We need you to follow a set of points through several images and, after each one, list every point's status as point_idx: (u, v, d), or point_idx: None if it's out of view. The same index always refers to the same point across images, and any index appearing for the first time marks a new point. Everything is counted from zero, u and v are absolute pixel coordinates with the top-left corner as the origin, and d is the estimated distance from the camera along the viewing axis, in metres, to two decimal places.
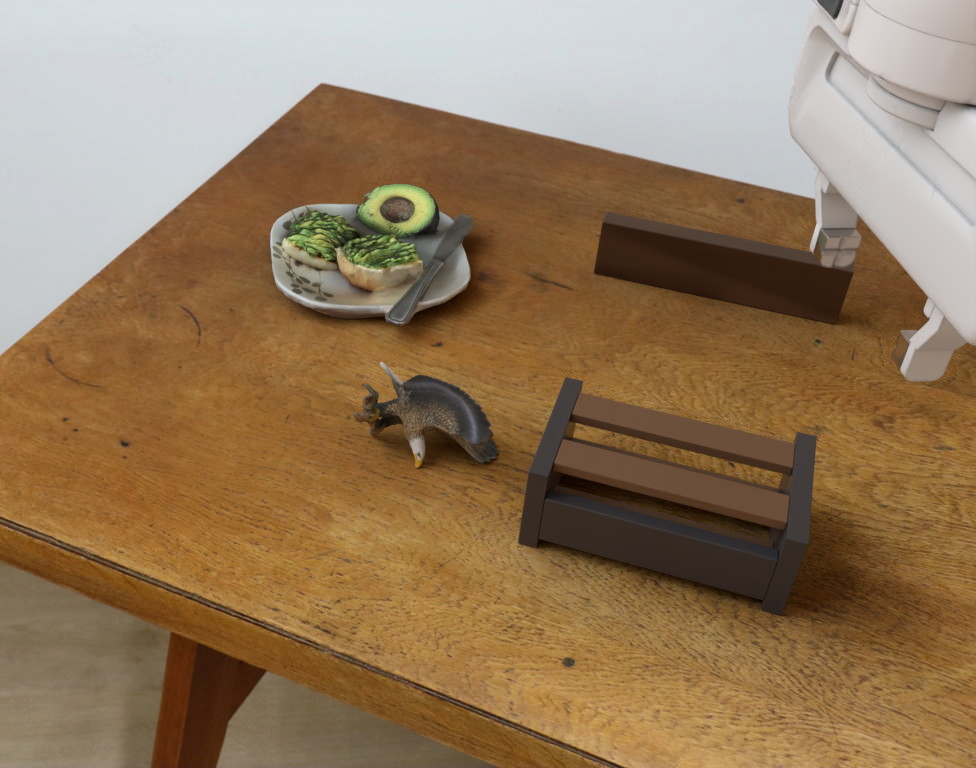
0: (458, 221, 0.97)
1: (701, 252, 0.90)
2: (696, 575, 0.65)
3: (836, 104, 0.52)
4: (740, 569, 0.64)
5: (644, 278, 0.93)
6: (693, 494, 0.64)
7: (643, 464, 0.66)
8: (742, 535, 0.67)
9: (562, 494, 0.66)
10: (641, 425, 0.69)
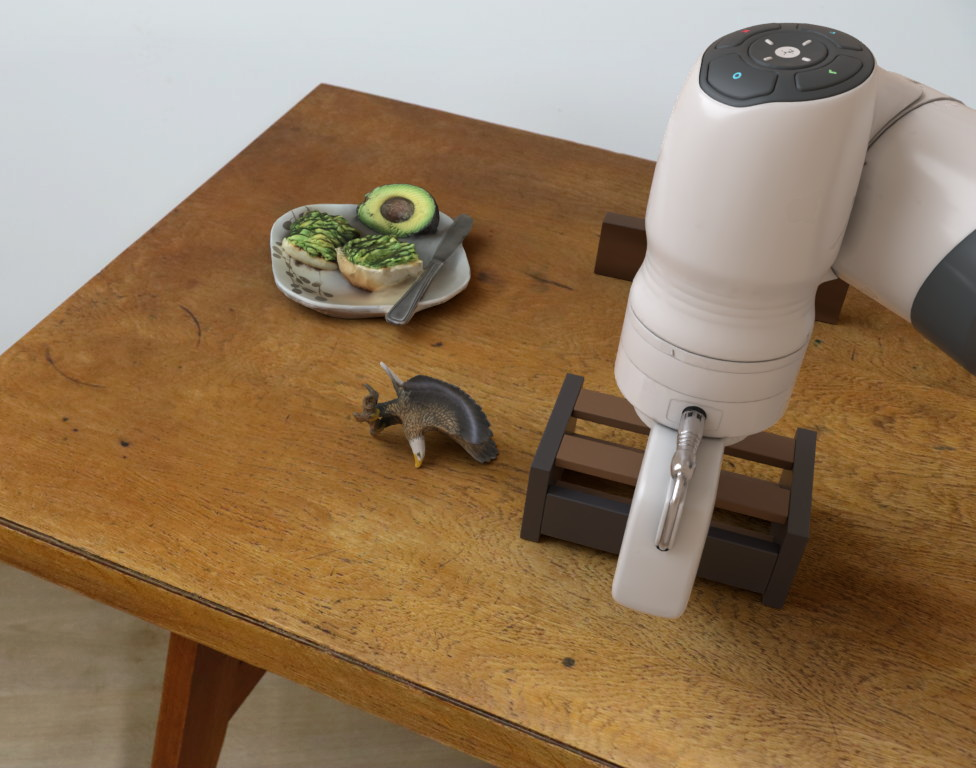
0: (458, 221, 0.97)
1: None
2: None
3: None
4: (741, 563, 0.64)
5: None
6: None
7: None
8: (743, 530, 0.68)
9: (564, 489, 0.67)
10: None
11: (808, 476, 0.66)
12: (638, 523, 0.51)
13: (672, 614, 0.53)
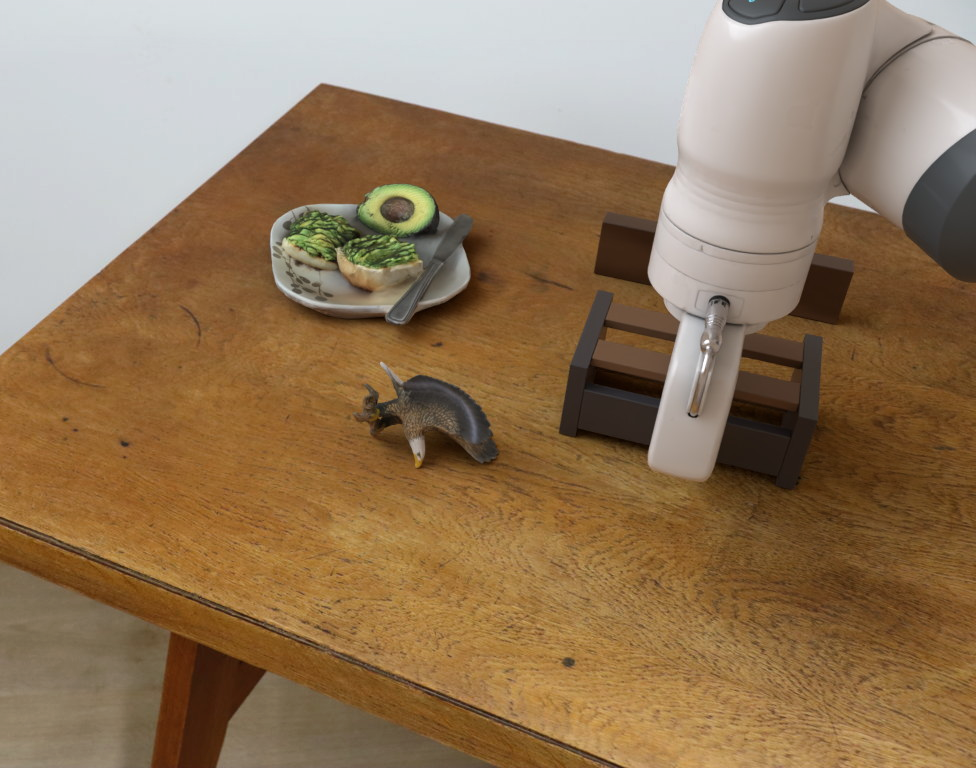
0: (458, 221, 0.97)
1: None
2: (718, 455, 0.74)
3: None
4: (757, 447, 0.73)
5: (644, 278, 0.93)
6: None
7: (670, 359, 0.75)
8: None
9: (599, 386, 0.75)
10: (667, 328, 0.78)
11: (816, 372, 0.74)
12: (672, 393, 0.59)
13: (701, 475, 0.61)
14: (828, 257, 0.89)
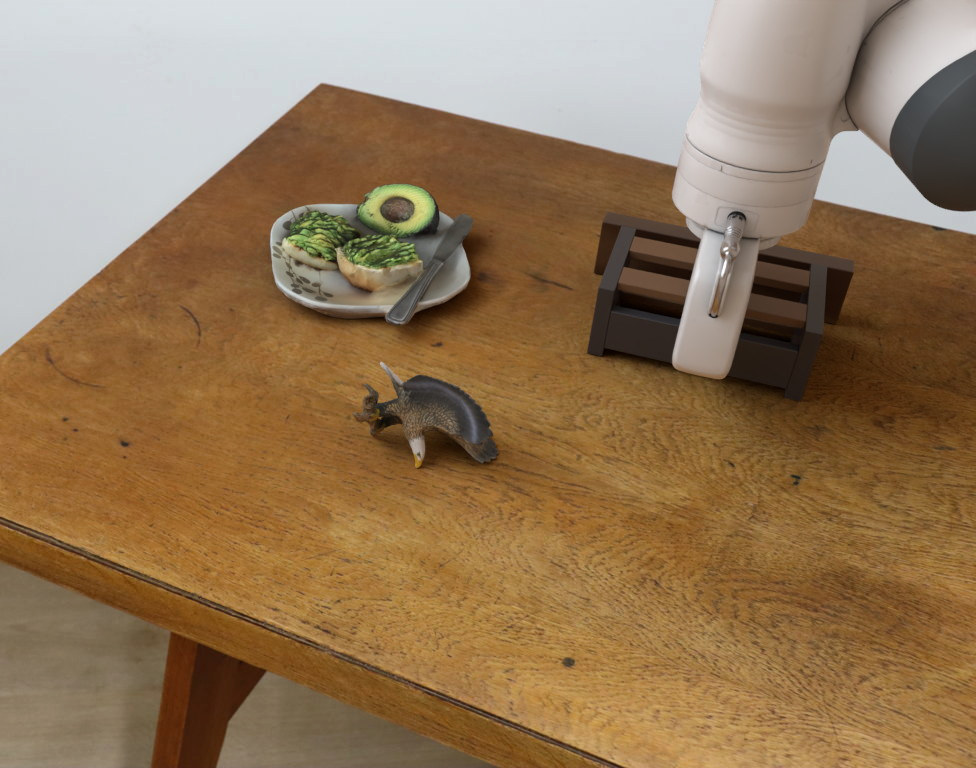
0: (458, 221, 0.97)
1: None
2: (732, 370, 0.82)
3: None
4: (768, 361, 0.81)
5: None
6: None
7: (689, 283, 0.83)
8: None
9: (624, 308, 0.83)
10: (685, 258, 0.86)
11: (821, 295, 0.82)
12: (695, 296, 0.67)
13: (720, 371, 0.69)
14: (828, 257, 0.89)
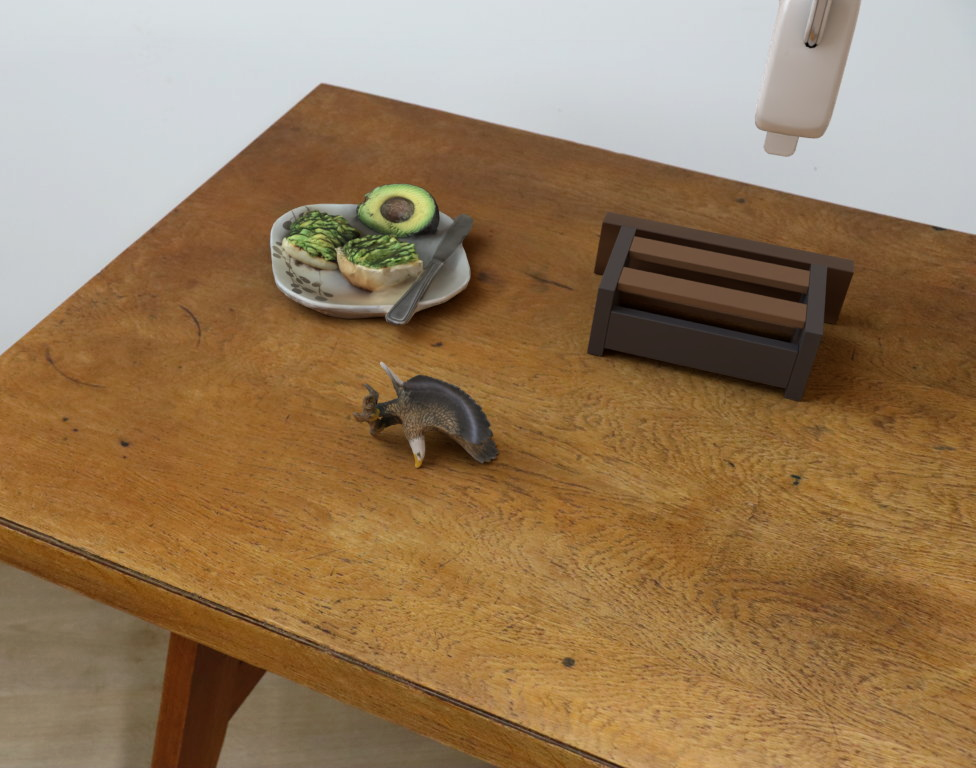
0: (458, 221, 0.97)
1: None
2: (732, 370, 0.82)
3: None
4: (768, 361, 0.81)
5: None
6: (730, 303, 0.81)
7: (689, 283, 0.83)
8: None
9: (624, 308, 0.83)
10: (685, 258, 0.86)
11: (821, 295, 0.82)
12: (787, 20, 0.53)
13: (818, 124, 0.55)
14: (828, 257, 0.89)
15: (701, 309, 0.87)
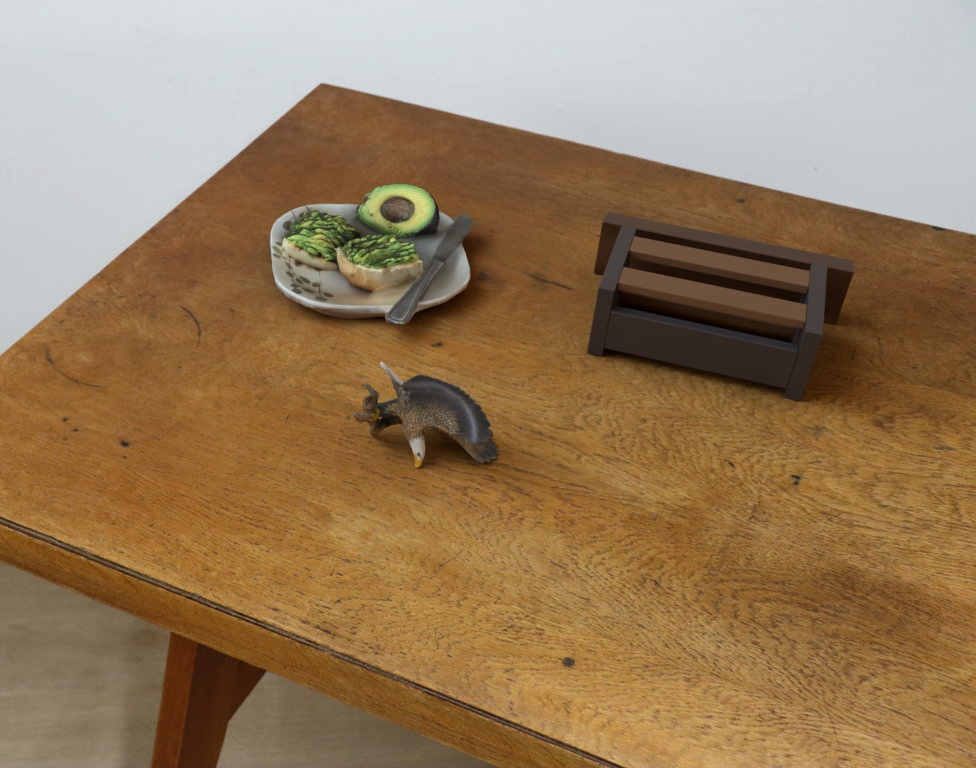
0: (458, 221, 0.97)
1: None
2: (732, 370, 0.82)
3: None
4: (768, 361, 0.81)
5: None
6: (730, 303, 0.81)
7: (689, 283, 0.83)
8: None
9: (624, 308, 0.83)
10: (685, 258, 0.86)
11: (821, 295, 0.82)
12: None
13: None
14: (828, 257, 0.89)
15: (701, 309, 0.87)
